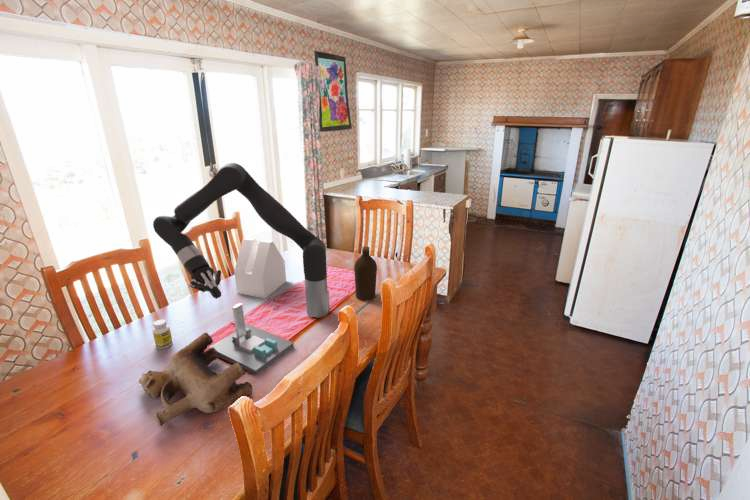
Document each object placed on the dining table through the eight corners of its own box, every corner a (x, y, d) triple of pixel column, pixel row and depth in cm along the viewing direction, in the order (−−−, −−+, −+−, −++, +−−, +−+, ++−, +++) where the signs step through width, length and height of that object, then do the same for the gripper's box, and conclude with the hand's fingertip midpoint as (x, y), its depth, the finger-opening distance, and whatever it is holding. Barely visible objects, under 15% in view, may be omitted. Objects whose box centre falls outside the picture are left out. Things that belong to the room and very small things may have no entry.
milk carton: (264, 298, 168) (259, 248, 159) (237, 293, 172) (230, 244, 163) (286, 281, 185) (282, 235, 176) (260, 277, 189) (255, 232, 180)
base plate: (248, 328, 144) (247, 316, 142) (293, 347, 133) (292, 334, 131) (209, 351, 130) (207, 339, 128) (256, 375, 118) (254, 361, 117)
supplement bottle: (165, 350, 130) (160, 327, 127) (152, 348, 131) (147, 325, 128) (176, 341, 135) (171, 319, 132) (163, 339, 136) (158, 317, 133)
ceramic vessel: (202, 321, 122) (120, 364, 106) (252, 368, 105) (163, 427, 88) (210, 349, 129) (134, 393, 112) (259, 397, 111) (177, 458, 94)
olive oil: (363, 303, 164) (363, 253, 155) (350, 295, 172) (349, 246, 163) (381, 297, 170) (382, 248, 161) (367, 289, 178) (367, 242, 169)
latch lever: (244, 333, 134) (239, 303, 129) (246, 334, 133) (242, 304, 129) (237, 337, 131) (232, 306, 127) (239, 338, 131) (234, 307, 126)
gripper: (178, 260, 126) (206, 300, 125) (211, 249, 137) (237, 285, 136) (173, 271, 131) (199, 309, 129) (205, 259, 141) (230, 294, 140)
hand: (218, 297), depth 132 cm, fingers closed
